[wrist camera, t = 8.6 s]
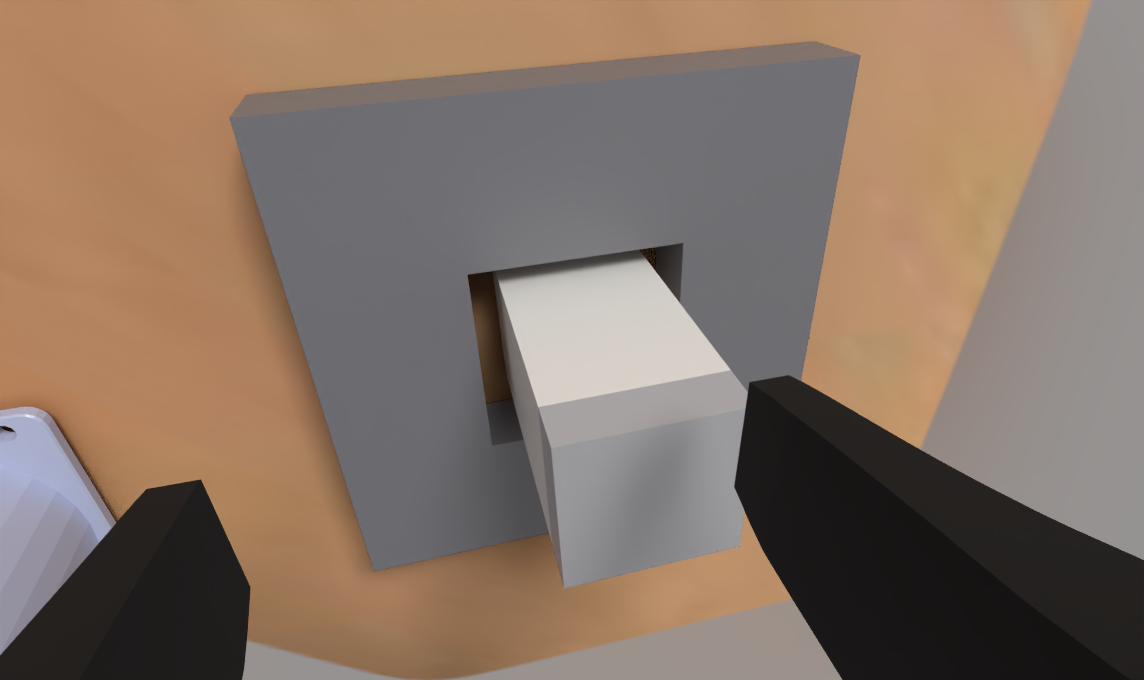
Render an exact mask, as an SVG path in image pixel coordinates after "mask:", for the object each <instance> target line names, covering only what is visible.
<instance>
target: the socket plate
mask: <svg viewBox="0 0 1144 680" xmlns="http://www.w3.org/2000/svg"><path fill="white" fill-rule="evenodd" d="M859 61H860V55H858V54H855V53H852V52H848V51H845V50H842V49H839V48H835V47H832V46H829V45H825V44H822V43H819V42H804V43H794V44H783V45H773V46H762V47H751V48H741V49H730V50H719V51H709V52H698V53H688V54H677V55H666V56H656V57H645V58H635V59H624V60H613V61H603V62H592V63H582V64H571V65H560V66H550V67H539V68H529V69H518V70H507V71H497V72H486V73H476V74H465V75H454V76H444V77H433V78H423V79H412V80H401V81H391V82H380V83H370V84H359V85H348V86H338V87H327V88H317V89H306V90H295V91H285V92H274V93H263V94H253V95H246V96H245V97H244V99H243V100H242V101H241V103H240V104H239V105H238V107H237V108H236V110H235V111H234V112H233V114H232V115H231V116H230V121H231V125H232V128H233V131H234V134H235V137H236V140H237V143H238V147H239V150H240V153H241V156H242V159H243V162H244V165H245V168H246V172H247V175H248V178H249V181H250V184H251V187H252V190H253V194H254V197H255V200H256V203H257V206H258V209H259V212H260V216H261V219H262V222H263V225H264V228H265V231H266V234H267V237H268V241H269V244H270V247H271V250H272V253H273V256H274V259H275V263H276V266H277V269H278V272H279V275H280V278H281V281H282V285H283V288H284V291H285V294H286V297H287V300H288V303H289V306H290V310H291V313H292V316H293V319H294V322H295V325H296V328H297V332H298V335H299V338H300V341H301V344H302V347H303V350H304V354H305V357H306V360H307V363H308V366H309V369H310V372H311V375H312V379H313V382H314V385H315V388H316V391H317V394H318V397H319V401H320V404H321V407H322V410H323V413H324V416H325V419H326V422H327V426H328V429H329V432H330V435H331V438H332V441H333V444H334V448H335V451H336V454H337V457H338V460H339V463H340V466H341V470H342V473H343V476H344V479H345V482H346V485H347V488H348V491H349V495H350V498H351V501H352V504H353V507H354V510H355V513H356V517H357V520H358V523H359V526H360V529H361V532H362V535H363V539H364V542H365V545H366V548H367V551H368V554H369V557H370V560H371V564H372V567H373V570H374V571H378V570H382V569H387V568H391V567H396V566H401V565H405V564H410V563H414V562H419V561H424V560H428V559H433V558H437V557H442V556H446V555H451V554H456V553H460V552H465V551H469V550H474V549H478V548H483V547H488V546H492V545H497V544H501V543H506V542H510V541H515V540H520V539H524V538H529V537H533V536H538V535H542V534H547V533H549V531H548V527H547V524H546V520H545V516H544V513H543V509H542V505H541V501H540V498H539V494H538V490H537V487H536V483H535V479H534V476H533V472H532V468H531V464H530V461H529V457H528V453H527V450H526V446H525V442H524V438H523V435H522V431H521V427H520V424H519V420H518V416H517V413H516V409H515V405H514V401H513V399H510V400H504V401H499V402H493V403H488V404H486V400H485V393H484V386H483V379H482V372H481V365H480V358H479V351H478V344H477V337H476V330H475V324H474V317H473V310H472V303H471V296H470V289H469V282H468V275H469V274H476V273H482V272H489V271H496V270H503V269H510V268H517V267H523V266H530V265H537V264H544V263H551V262H557V261H564V260H571V259H578V258H585V257H592V256H598V255H605V254H612V253H619V252H626V251H633V250H639V249H646V248H653V247H656V273H657V274H658V275H659V276H660V278H661V279H662V280H663V282H664V283H665V284H666V286H667V287H668V288H669V290H670V291H671V292H672V294H673V295H674V296H675V297H676V299H677V300H678V301H679V303H680V304H681V305H682V307H683V308H684V309H685V311H686V312H687V313H688V315H689V316H690V317H691V318H692V320H693V321H694V322H695V324H696V325H697V326H698V328H699V329H700V330H701V332H702V333H703V334H704V336H705V337H706V338H707V339H708V341H709V342H710V343H711V345H712V346H713V347H714V349H715V350H716V351H717V353H718V354H719V355H720V357H721V358H722V359H723V360H724V362H725V363H726V364H727V366H728V367H729V368H730V370H731V371H732V372H733V374H734V375H735V376H736V378H737V379H738V380H739V381H740V383H741V384H742V385H743V387H744V388H745V389H746V391H747V392H748V388H749V382H753V381H758V380H764V379H769V378H775V377H781V376H786V375H790V376H792V377H794V378H796V379H798V380H799V381H801V377H802V372H803V367H804V361H805V356H806V350H807V345H808V339H809V334H810V328H811V323H812V317H813V312H814V306H815V301H816V296H817V290H818V285H819V279H820V274H821V268H822V263H823V257H824V252H825V246H826V241H827V235H828V230H829V225H830V219H831V214H832V208H833V203H834V197H835V192H836V186H837V181H838V175H839V170H840V164H841V159H842V154H843V148H844V143H845V137H846V132H847V126H848V121H849V115H850V110H851V104H852V99H853V93H854V88H855V83H856V77H857V72H858V66H859Z"/></svg>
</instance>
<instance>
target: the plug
mask: <svg viewBox="0 0 1144 680" xmlns="http://www.w3.org/2000/svg"><path fill="white" fill-rule="evenodd" d="M493 278H494V286H495V293H496V301H497V309H498V316H499V324H500V331H501V339H502V347H503V354H504V362H505V370H506V376H507V379H508V383H509V387H510V390H511V394H512V398H513V401H514V405H515V409H516V413H517V416H518V420H519V424H520V427H521V431H522V435H523V438H524V442H525V446H526V450H527V453H528V457H529V461H530V464H531V468H532V472H533V476H534V479H535V483H536V487H537V490H538V494H539V498H540V501H541V505H542V509H543V513H544V516H545V520H546V524H547V527H548V531H549V535H550V538H551V542H552V546H553V550H554V553H555V557H556V561H557V564H558V568H559V572H560V575H561V579H562V583H563V587H564V589H565V588H569V587H573V586H577V585H582V584H586V583H590V582H594V581H598V580H602V579H607V578H611V577H615V576H619V575H623V574H627V573H632V572H636V571H640V570H644V569H648V568H652V567H657V566H661V565H665V564H669V563H673V562H677V561H682V560H686V559H690V558H694V557H698V556H702V555H707V554H711V553H715V552H719V551H723V550H727V549H732V548H736V547H740V540H741V533H742V525H743V518H744V508H743V506H742V504H741V502H740V499H739V497H738V495H737V492H736V490H735V488H734V484H735V477H736V470H737V463H738V456H739V449H740V443H741V436H742V429H743V422H744V415H745V408H746V401H747V395H748V392H747V391H746V389H745V388H744V387H743V385H742V384H741V383H740V381H739V380H738V379H737V378H736V376H735V375H734V374H733V372H732V371H731V370H730V368H729V367H728V366H727V364H726V363H725V362H724V360H723V359H722V358H721V357H720V355H719V354H718V353H717V351H716V350H715V349H714V347H713V346H712V345H711V343H710V342H709V341H708V339H707V338H706V337H705V336H704V334H703V333H702V332H701V330H700V329H699V328H698V326H697V325H696V324H695V322H694V321H693V320H692V318H691V317H690V316H689V315H688V313H687V312H686V311H685V309H684V308H683V307H682V305H681V304H680V303H679V301H678V300H677V299H676V297H675V296H674V295H673V294H672V292H671V291H670V290H669V288H668V287H667V286H666V284H665V283H664V282H663V280H662V279H661V278H660V276H659V275H658V274H657V273H656V271H655V270H654V269H653V267H652V266H651V265H650V263H649V262H648V261H647V259H646V258H645V257H644V255H643V254H642V253H641V252H640V250H633V251H626V252H619V253H612V254H605V255H598V256H592V257H585V258H578V259H571V260H564V261H557V262H551V263H544V264H537V265H530V266H523V267H517V268H510V269H503V270H496V271H493Z"/></svg>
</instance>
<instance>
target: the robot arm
mask: <svg viewBox="0 0 1144 680" xmlns="http://www.w3.org/2000/svg"><path fill="white" fill-rule="evenodd" d="M0 426H7V427H9V428H12V429H13V430H14V431H15V432H9V431H6V430H3V429H2V428H1V427H0V680H242V676H243V671H244V663H245V652H246V642H247V631H248V616H249V601H250V585H249V583H248V581H247V579H246V577H245V575H244V572H243V570H242V568H241V566H240V564H239V561H238V559H237V557H236V555H235V553H234V551H233V548H232V546H231V544H230V542H229V540H228V537H227V535H226V533H225V531H224V529H223V527H222V524H221V522H220V520H219V518H218V516H217V514H216V511H215V509H214V507H213V505H212V503H211V500H210V498H209V496H208V494H207V492H206V490H205V487H204V485H203V483H202V481H201V480H196V481H190V482H184V483H179V484H173V485H167V486H162V487H156V488H151V489H146V490H145V491H144V493H143V494H142V495H141V496H140V497H139V498H138V499H137V500H136V501H135V502H134V503H133V504H132V506H131V507H130V508H129V509H128V510H127V511H126V512H125V514H124V515H123V516H122V517H121V518H120V519H119V520H118V522H117V523H116V521H115V520H114V518H113V517H112V515H111V513H110V512H109V510H108V508H107V507H106V505H105V503H104V502H103V500H102V499H101V497H100V495H99V494H98V492H97V490H96V489H95V487H94V485H93V484H92V482H91V481H90V479H89V477H88V476H87V474H86V472H85V471H84V469H83V467H82V466H81V464H80V463H79V461H78V459H77V458H76V456H75V454H74V453H73V451H72V449H71V448H70V446H69V444H68V443H67V441H66V440H65V438H64V436H63V435H62V433H61V431H60V430H59V428H58V426H57V425H56V423H55V422H54V420H53V418H52V417H51V416H50V415H49V414H48V413H47V412H45V411H43V410H41V409H38V408H34V407H19V408H13V409H6V410H0ZM734 488H735V490H736V492H737V495H738V497H739V499H740V502H741V504H742V506H743V508H744V511H745V513H746V515H747V518H748V520H749V522H750V524H751V526H752V528H753V531H754V533H755V535H756V537H757V539H758V541H759V543H760V545H761V547H762V550H763V551H764V553H765V555H766V556H767V558H768V560H769V561H770V563H771V565H772V566H773V568H774V570H775V571H776V573H777V575H778V576H779V578H780V580H781V581H782V583H783V584H784V586H785V588H786V589H787V591H788V593H789V594H790V596H791V598H792V599H793V601H794V602H795V604H796V606H797V607H798V609H799V610H800V612H801V614H802V615H803V617H804V619H805V620H806V622H807V623H808V625H809V626H810V628H811V630H812V631H813V633H814V635H815V636H816V638H817V639H818V641H819V643H820V644H821V646H822V647H823V649H824V651H825V652H826V654H827V656H828V657H829V659H830V660H831V662H832V663H833V665H834V667H835V668H836V670H837V672H838V673H839V675H840V676H841V678H842V680H1144V560H1142V559H1140V558H1138V557H1136V556H1133V555H1131V554H1129V553H1126V552H1124V551H1122V550H1120V549H1118V548H1115V547H1113V546H1111V545H1109V544H1106V543H1104V542H1102V541H1100V540H1097V539H1095V538H1093V537H1091V536H1088V535H1086V534H1084V533H1082V532H1079V531H1077V530H1075V529H1073V528H1070V527H1068V526H1066V525H1064V524H1062V523H1060V522H1058V521H1056V520H1054V519H1051V518H1049V517H1047V516H1045V515H1043V514H1041V513H1039V512H1037V511H1035V510H1033V509H1031V508H1029V507H1027V506H1025V505H1023V504H1021V503H1019V502H1017V501H1015V500H1013V499H1011V498H1009V497H1007V496H1005V495H1004V494H1001V493H1000V492H997V491H996V490H993V489H992V488H990V487H988V486H986V485H984V484H982V483H980V482H978V481H976V480H974V479H973V478H971V477H969V476H967V475H965V474H963V473H961V472H959V471H958V470H956V469H954V468H952V467H950V466H948V465H947V464H945V463H943V462H941V461H939V460H938V459H936V458H934V457H932V456H930V455H929V454H927V453H925V452H923V451H922V450H920V449H918V448H916V447H915V446H913V445H911V444H909V443H907V442H906V441H904V440H902V439H901V438H899V437H897V436H895V435H894V434H892V433H890V432H888V431H887V430H885V429H883V428H881V427H880V426H878V425H876V424H875V423H873V422H871V421H870V420H868V419H866V418H864V417H863V416H861V415H859V414H858V413H856V412H854V411H852V410H851V409H849V408H847V407H846V406H844V405H842V404H840V403H839V402H837V401H835V400H833V399H832V398H830V397H828V396H827V395H825V394H823V393H821V392H820V391H818V390H816V389H814V388H812V387H811V386H809V385H807V384H805V383H803V382H801V381H799V380H798V379H796V378H794V377H792V376H790V375H786V376H781V377H775V378H769V379H764V380H758V381H753V382H749V388H748V395H747V401H746V408H745V415H744V422H743V429H742V436H741V443H740V449H739V456H738V463H737V470H736V477H735V484H734Z"/></svg>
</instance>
